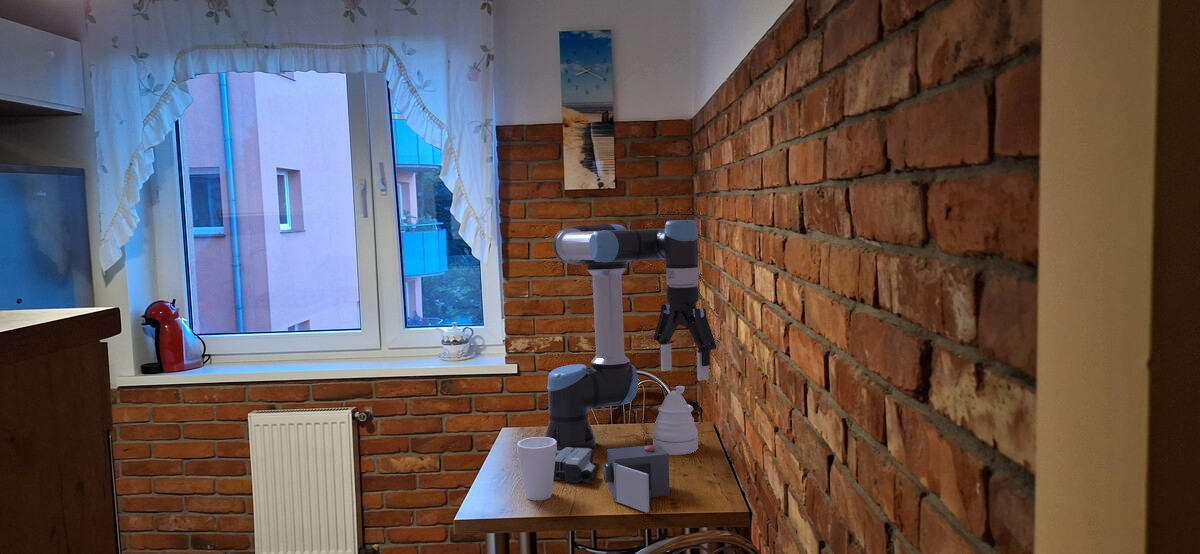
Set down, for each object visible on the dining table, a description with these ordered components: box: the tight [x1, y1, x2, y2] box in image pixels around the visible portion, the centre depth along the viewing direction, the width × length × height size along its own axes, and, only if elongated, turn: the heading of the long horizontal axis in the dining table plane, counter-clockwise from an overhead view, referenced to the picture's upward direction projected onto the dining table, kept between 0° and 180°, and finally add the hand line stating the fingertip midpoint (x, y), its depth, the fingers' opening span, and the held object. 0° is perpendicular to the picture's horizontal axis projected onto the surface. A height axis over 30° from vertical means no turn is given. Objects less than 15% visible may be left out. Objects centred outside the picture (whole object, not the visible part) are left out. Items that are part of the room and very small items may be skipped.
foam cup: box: [516, 436, 557, 501], centre depth 175 cm, size 10×9×13 cm
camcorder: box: [553, 447, 597, 484], centre depth 190 cm, size 16×20×5 cm
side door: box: [614, 463, 650, 514], centre depth 165 cm, size 1×10×9 cm, turn 42°
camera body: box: [602, 444, 670, 500], centre depth 174 cm, size 8×15×11 cm, turn 102°
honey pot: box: [652, 385, 699, 456], centre depth 209 cm, size 13×13×18 cm
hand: (684, 375), depth 173 cm, fingers open, 13 cm apart
